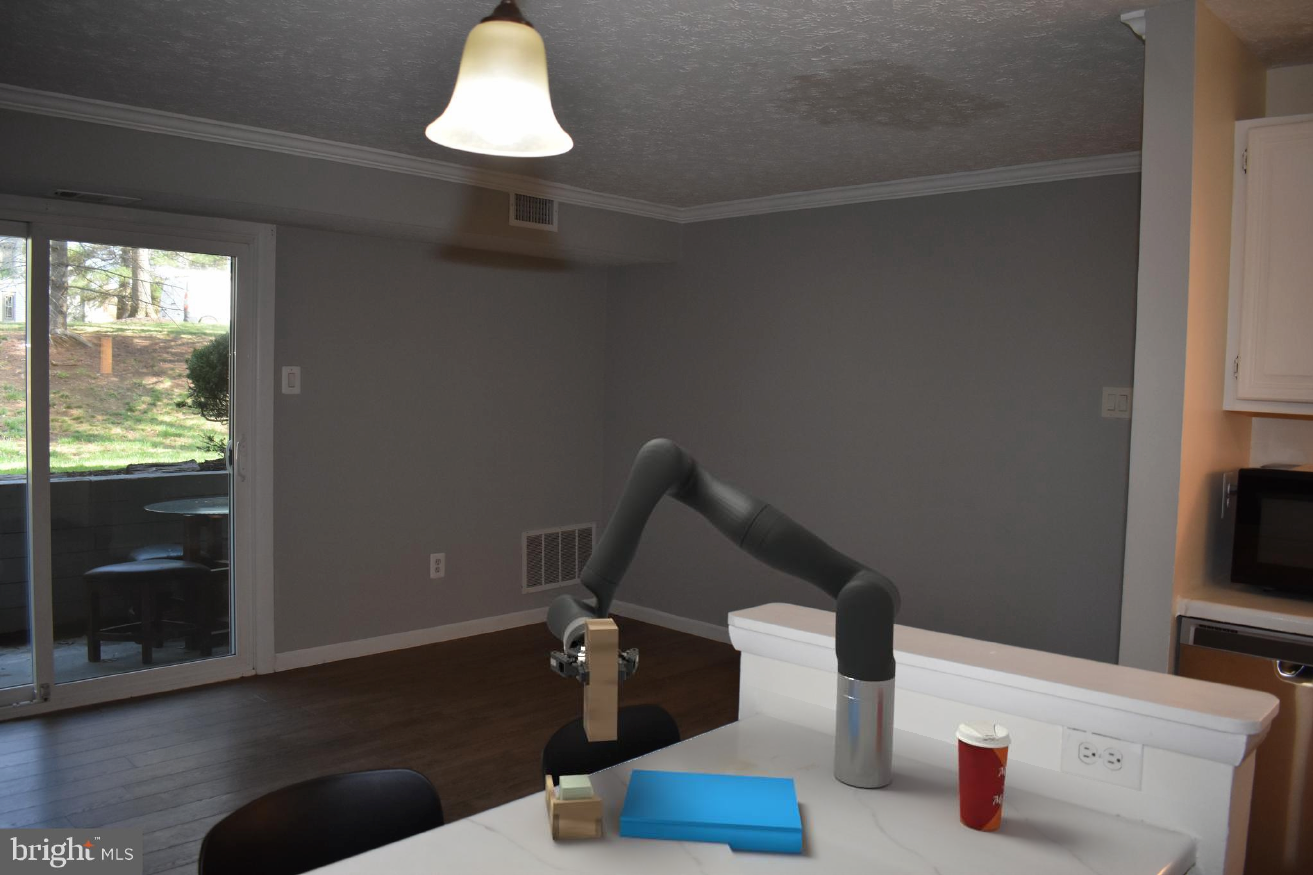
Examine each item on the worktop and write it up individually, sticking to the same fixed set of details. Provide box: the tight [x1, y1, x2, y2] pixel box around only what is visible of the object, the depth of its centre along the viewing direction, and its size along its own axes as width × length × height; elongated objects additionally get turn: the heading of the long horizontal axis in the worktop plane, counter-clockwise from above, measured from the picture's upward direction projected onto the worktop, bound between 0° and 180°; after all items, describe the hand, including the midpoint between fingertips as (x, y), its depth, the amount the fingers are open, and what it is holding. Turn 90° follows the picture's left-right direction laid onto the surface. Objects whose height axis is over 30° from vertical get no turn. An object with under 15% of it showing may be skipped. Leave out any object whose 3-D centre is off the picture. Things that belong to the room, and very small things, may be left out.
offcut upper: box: [558, 774, 592, 800], centre depth 129 cm, size 4×4×3 cm
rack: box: [544, 774, 603, 841], centre depth 132 cm, size 13×7×6 cm, turn 11°
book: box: [619, 769, 803, 854], centre depth 134 cm, size 17×4×25 cm
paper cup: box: [955, 720, 1012, 832], centre depth 135 cm, size 8×8×14 cm
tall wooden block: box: [583, 618, 619, 742], centre depth 133 cm, size 6×4×16 cm, turn 12°
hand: (603, 677), depth 131 cm, fingers closed on tall wooden block, 4 cm apart
